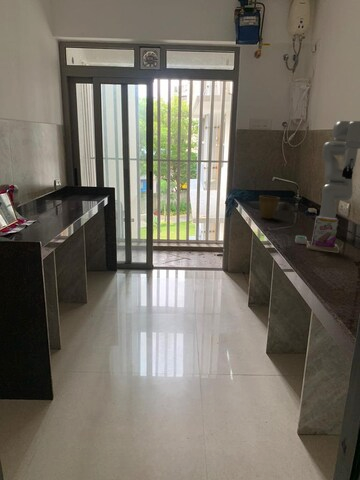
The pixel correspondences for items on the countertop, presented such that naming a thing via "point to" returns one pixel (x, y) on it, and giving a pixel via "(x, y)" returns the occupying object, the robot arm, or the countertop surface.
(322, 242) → the candy bar box
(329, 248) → the tray
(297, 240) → the button housing
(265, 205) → the plant pot
